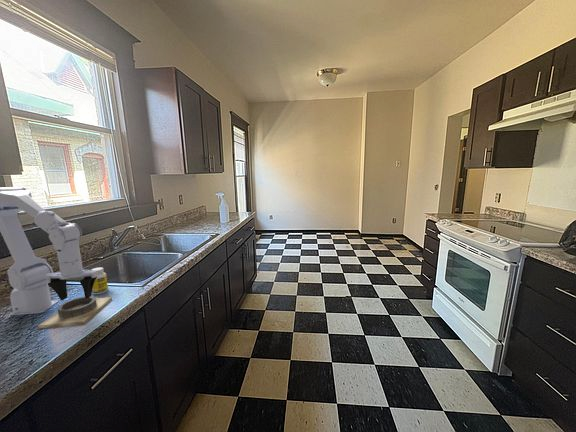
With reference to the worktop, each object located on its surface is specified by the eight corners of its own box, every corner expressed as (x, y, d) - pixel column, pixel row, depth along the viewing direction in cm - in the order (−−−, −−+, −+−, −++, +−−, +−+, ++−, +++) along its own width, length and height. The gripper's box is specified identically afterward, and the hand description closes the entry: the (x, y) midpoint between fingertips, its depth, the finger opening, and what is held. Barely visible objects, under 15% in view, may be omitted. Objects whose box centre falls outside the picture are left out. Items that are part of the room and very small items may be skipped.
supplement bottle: (99, 295, 98) (96, 272, 96) (88, 294, 99) (84, 271, 97) (111, 289, 103) (108, 266, 102) (100, 288, 104) (97, 266, 103)
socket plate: (38, 328, 77) (36, 318, 76) (74, 302, 93) (72, 293, 92) (84, 324, 79) (82, 314, 78) (112, 299, 94) (110, 291, 94)
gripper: (35, 266, 78) (43, 305, 80) (86, 263, 80) (92, 302, 82) (53, 258, 84) (59, 295, 87) (99, 256, 87) (104, 292, 89)
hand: (76, 297), depth 85 cm, fingers open, 7 cm apart
